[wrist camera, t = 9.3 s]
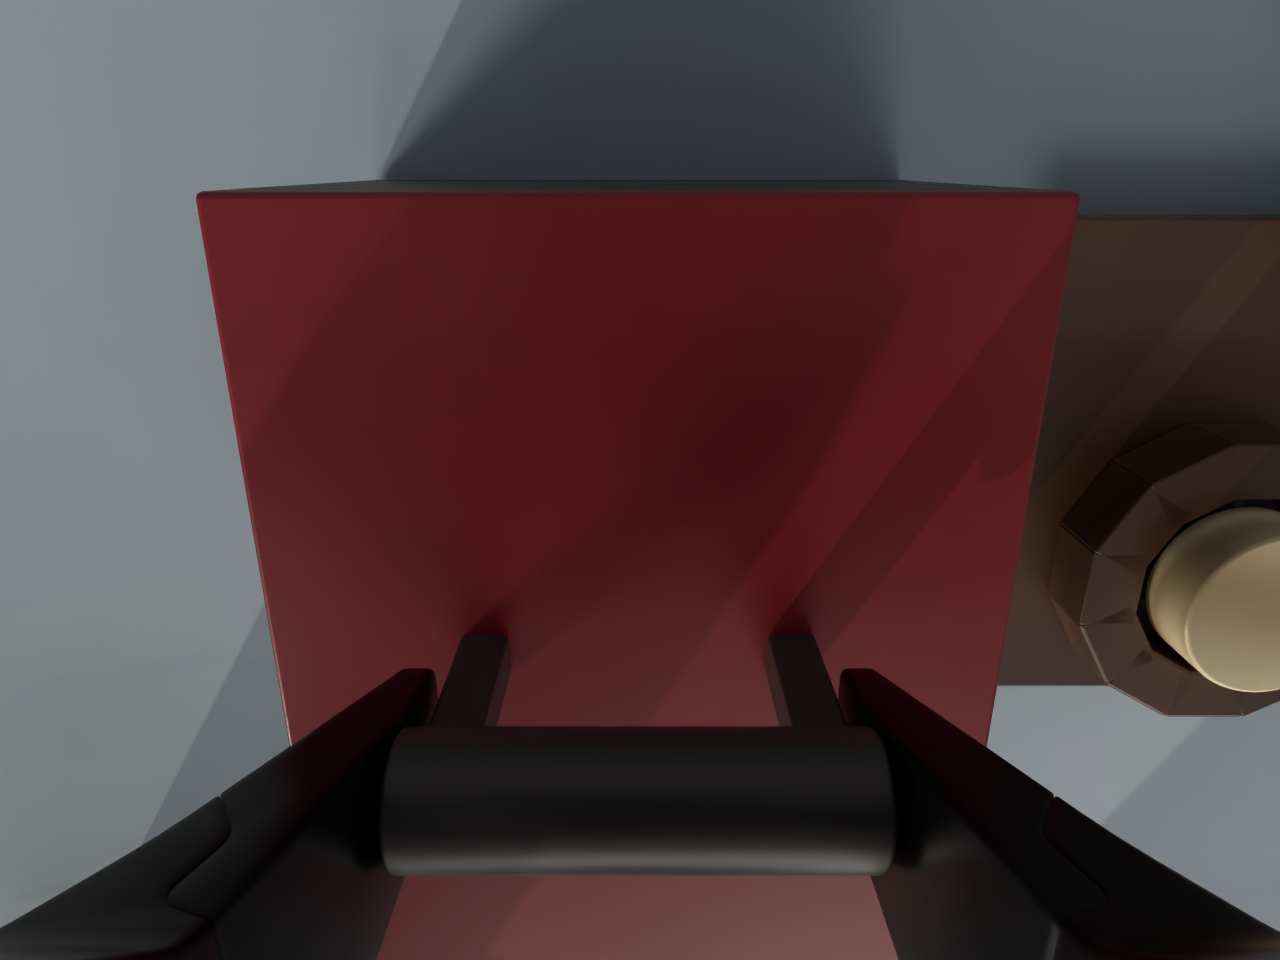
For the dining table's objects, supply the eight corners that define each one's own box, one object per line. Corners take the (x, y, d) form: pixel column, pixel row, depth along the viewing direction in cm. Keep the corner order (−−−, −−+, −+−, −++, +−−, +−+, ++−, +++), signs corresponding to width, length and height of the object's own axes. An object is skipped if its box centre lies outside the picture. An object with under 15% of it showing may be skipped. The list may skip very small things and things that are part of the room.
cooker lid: (930, 935, 16) (1047, 1248, 11) (346, 936, 16) (227, 1249, 11) (1048, 189, 11) (1323, 207, 7) (228, 189, 11) (-50, 206, 7)
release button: (1289, 653, 19) (1342, 694, 18) (1128, 654, 19) (1168, 694, 18) (1334, 505, 18) (1395, 535, 16) (1162, 505, 18) (1208, 534, 16)
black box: (850, 690, 22) (934, 900, 16) (427, 690, 22) (342, 900, 16) (901, 180, 18) (1045, 188, 11) (375, 179, 18) (229, 188, 11)
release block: (1268, 666, 22) (1344, 727, 19) (974, 666, 22) (1014, 727, 19) (1402, 215, 18) (1516, 223, 16) (1045, 215, 18) (1106, 223, 16)
